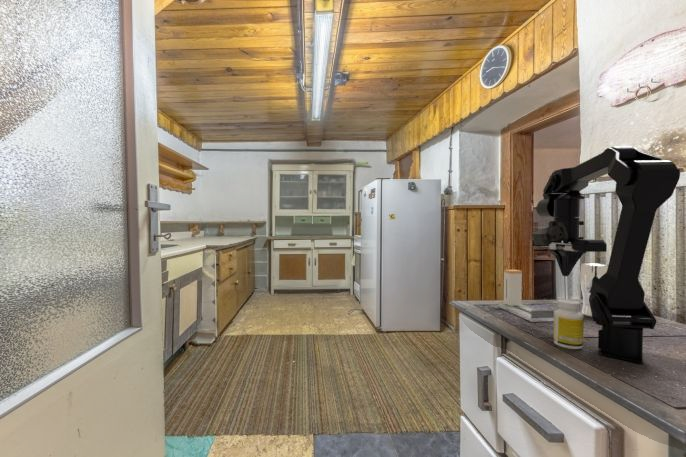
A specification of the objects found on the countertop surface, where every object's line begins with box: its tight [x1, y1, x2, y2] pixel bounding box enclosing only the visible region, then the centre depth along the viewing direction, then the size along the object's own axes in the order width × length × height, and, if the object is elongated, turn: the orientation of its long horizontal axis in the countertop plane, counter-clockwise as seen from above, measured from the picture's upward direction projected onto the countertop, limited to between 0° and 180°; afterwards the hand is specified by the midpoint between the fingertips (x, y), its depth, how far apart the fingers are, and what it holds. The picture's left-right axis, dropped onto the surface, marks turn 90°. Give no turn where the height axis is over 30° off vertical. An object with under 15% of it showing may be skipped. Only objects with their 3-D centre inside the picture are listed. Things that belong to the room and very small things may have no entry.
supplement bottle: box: [553, 298, 585, 350], centre depth 72 cm, size 5×5×10 cm
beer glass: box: [579, 262, 609, 318], centre depth 96 cm, size 7×7×15 cm
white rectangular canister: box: [503, 269, 523, 306], centre depth 102 cm, size 3×4×11 cm
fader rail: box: [498, 303, 555, 323], centre depth 97 cm, size 16×7×3 cm, turn 6°
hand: (565, 276), depth 86 cm, fingers closed
